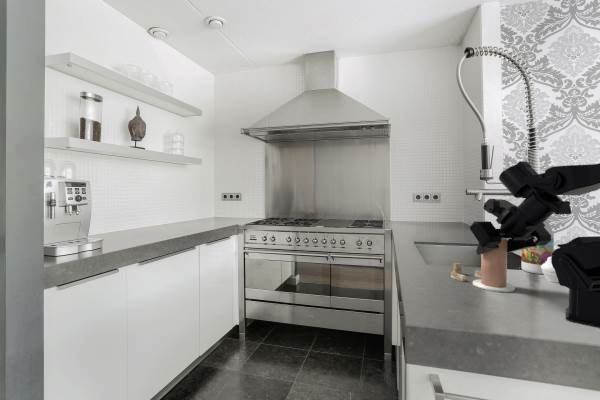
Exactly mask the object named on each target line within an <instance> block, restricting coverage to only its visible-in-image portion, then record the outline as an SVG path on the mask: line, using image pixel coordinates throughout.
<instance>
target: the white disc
mask: <svg viewBox="0 0 600 400" xmlns="http://www.w3.org/2000/svg"><path fill="white" fill-rule="evenodd" d="M472 286H474V287H476V288H477V289H478V288H479V289H482V290H485V291H490V292H494V293H495V292H496V293H513V292H515V290H516V289H515V286H514V285H512V284H510V283H507V286H506V287H502V288H500V287H491V286H486V285H483V284H481V278H479V279H474V280H472Z"/></svg>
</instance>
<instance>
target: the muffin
mask: <svg viewBox="0 0 600 400" xmlns="http://www.w3.org/2000/svg"><path fill="white" fill-rule="evenodd" d="M541 269H542V270H543V271H542V272H543V274H542V275H544V277H545V279H546V281H548V282H551V283H555V284H556V283H557V284H559V281H558V278H557V275H556V272H555V269H554V268H553V266H552V263H551V257H549V258H547V261H546V262H545V263H544V264H542V265H541Z"/></svg>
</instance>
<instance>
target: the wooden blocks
mask: <svg viewBox="0 0 600 400" xmlns="http://www.w3.org/2000/svg"><path fill="white" fill-rule="evenodd" d="M452 264H453V265H452V271H450V278H452V279H454V280H457V281H460V282H463V283H464V282H466V279H467V277H466V276H467V275H464V274H462V263H460V262H458V263H457V262H456V263H455V262H454V263H452ZM474 276H475V277H477V278H479V279H481V270H474Z"/></svg>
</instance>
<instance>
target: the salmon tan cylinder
mask: <svg viewBox="0 0 600 400" xmlns="http://www.w3.org/2000/svg"><path fill="white" fill-rule="evenodd" d="M507 240H508V239H501V243H500V244H499V245H498V246H499V248H497V249H495V250H492V251H489V252H487V253H484V254H481V255H480V257H481V258H480V259H481V260H480V261H481V262H480V268H481V269H480V271H481V278H480V279H481V284H483V285H486V286H491V287H500V288H502V287H506V286H507V282H508V281H507V279H508V278H507V277H508V275H507V274H508V253H507Z"/></svg>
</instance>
